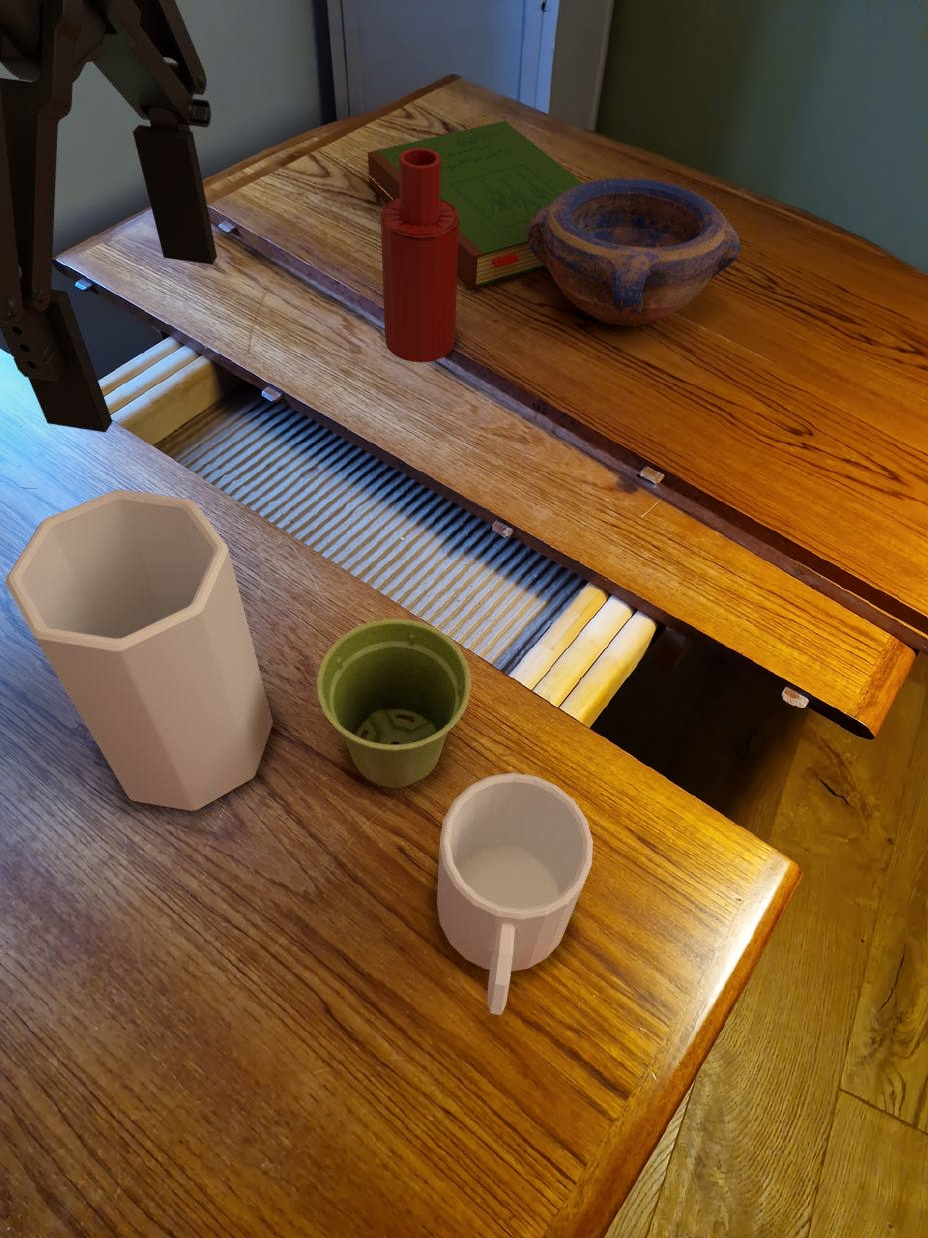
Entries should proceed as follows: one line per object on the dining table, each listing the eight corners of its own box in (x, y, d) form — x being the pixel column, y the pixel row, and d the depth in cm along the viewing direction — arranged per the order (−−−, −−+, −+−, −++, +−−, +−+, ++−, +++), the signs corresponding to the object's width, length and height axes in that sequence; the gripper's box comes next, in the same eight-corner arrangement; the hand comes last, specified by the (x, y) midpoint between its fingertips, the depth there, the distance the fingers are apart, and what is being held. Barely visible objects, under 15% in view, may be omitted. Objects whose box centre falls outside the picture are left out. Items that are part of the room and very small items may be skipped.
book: (369, 184, 107) (367, 152, 104) (502, 151, 113) (505, 120, 110) (475, 292, 94) (477, 259, 91) (619, 249, 100) (625, 217, 97)
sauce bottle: (378, 356, 87) (370, 171, 73) (394, 316, 91) (389, 133, 77) (446, 366, 86) (452, 182, 72) (459, 325, 91) (467, 143, 76)
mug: (416, 1032, 50) (416, 985, 43) (447, 834, 58) (452, 762, 50) (558, 1055, 50) (584, 1011, 42) (572, 852, 57) (596, 783, 49)
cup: (197, 845, 57) (118, 687, 42) (70, 759, 60) (-45, 584, 45) (306, 717, 62) (271, 539, 48) (185, 645, 66) (117, 458, 51)
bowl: (630, 236, 102) (648, 146, 94) (740, 317, 93) (770, 226, 85) (501, 280, 96) (509, 188, 88) (606, 372, 87) (625, 279, 79)
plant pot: (478, 706, 64) (485, 635, 57) (447, 827, 58) (451, 764, 51) (352, 678, 65) (344, 605, 58) (309, 794, 59) (294, 728, 52)
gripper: (-169, -149, 19) (107, 527, 36) (225, -325, 34) (289, 212, 51) (-485, -184, 20) (-67, 498, 37) (38, -342, 35) (163, 195, 52)
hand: (140, 333), depth 44 cm, fingers open, 13 cm apart
